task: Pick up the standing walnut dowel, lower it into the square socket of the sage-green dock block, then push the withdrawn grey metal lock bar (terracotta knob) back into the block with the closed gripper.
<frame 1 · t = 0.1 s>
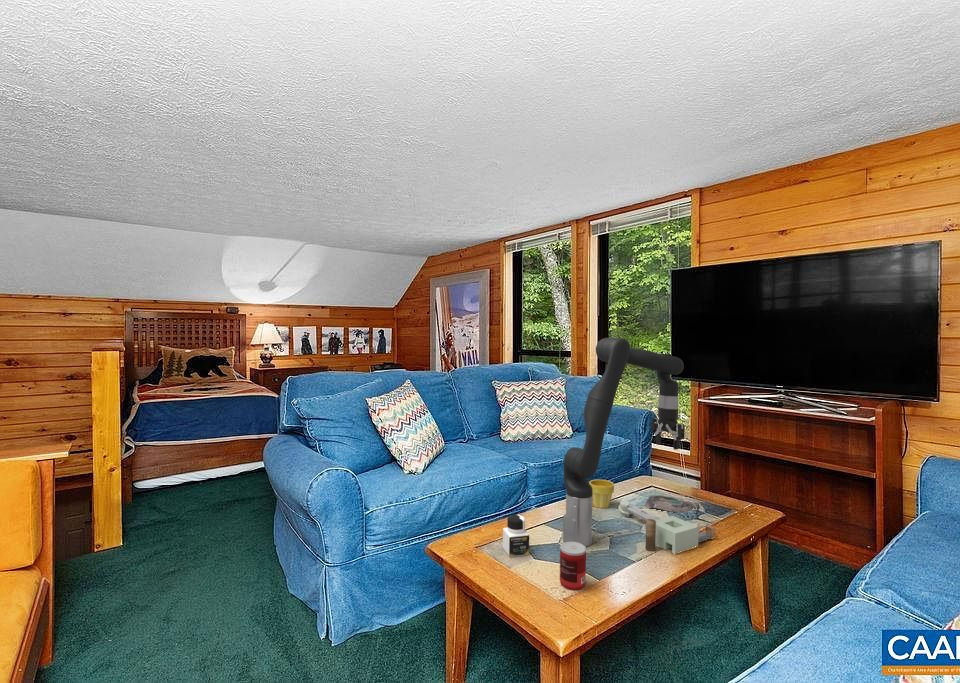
hand: (667, 446, 194), 29 cm above the table, fingers open, 8 cm apart
canned food: (572, 584, 145), on the table
terrain model: (671, 508, 208), on the table
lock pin: (700, 535, 175), point 2 cm above the table, slide at 6.0 cm
dowel: (650, 549, 168), on the table
white handheld tool: (647, 523, 190), on the table, touching dock
dock: (673, 544, 172), on the table
medicine bottle: (515, 552, 165), on the table
plant pot: (601, 505, 209), on the table
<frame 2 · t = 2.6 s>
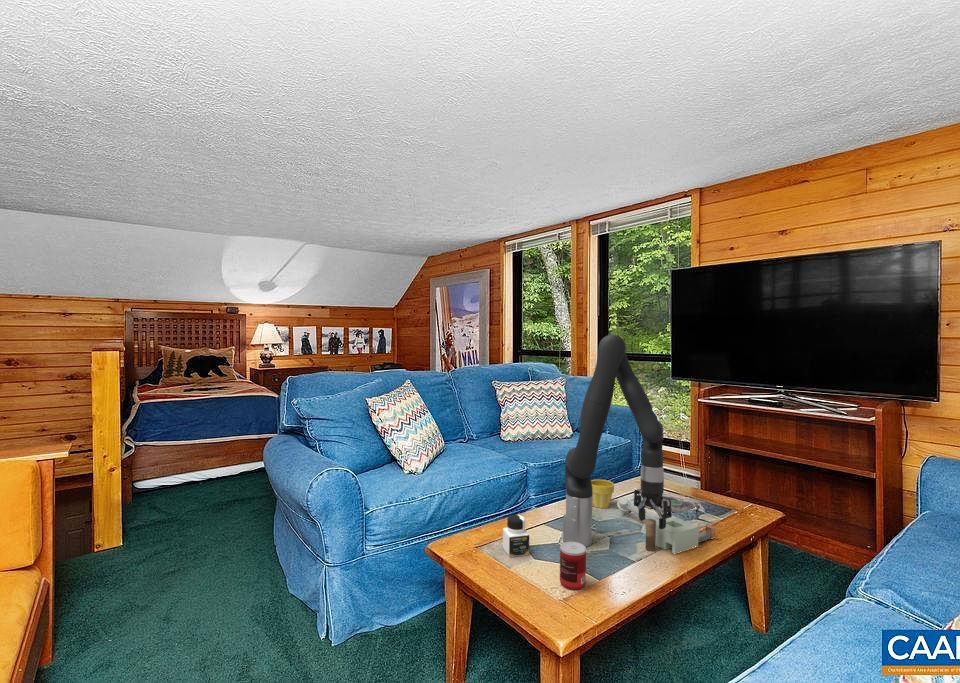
hand: (652, 524, 168), 9 cm above the table, fingers open, 8 cm apart
white handheld tool: (647, 519, 191), point 1 cm above the table, touching dock
everything else where it was.
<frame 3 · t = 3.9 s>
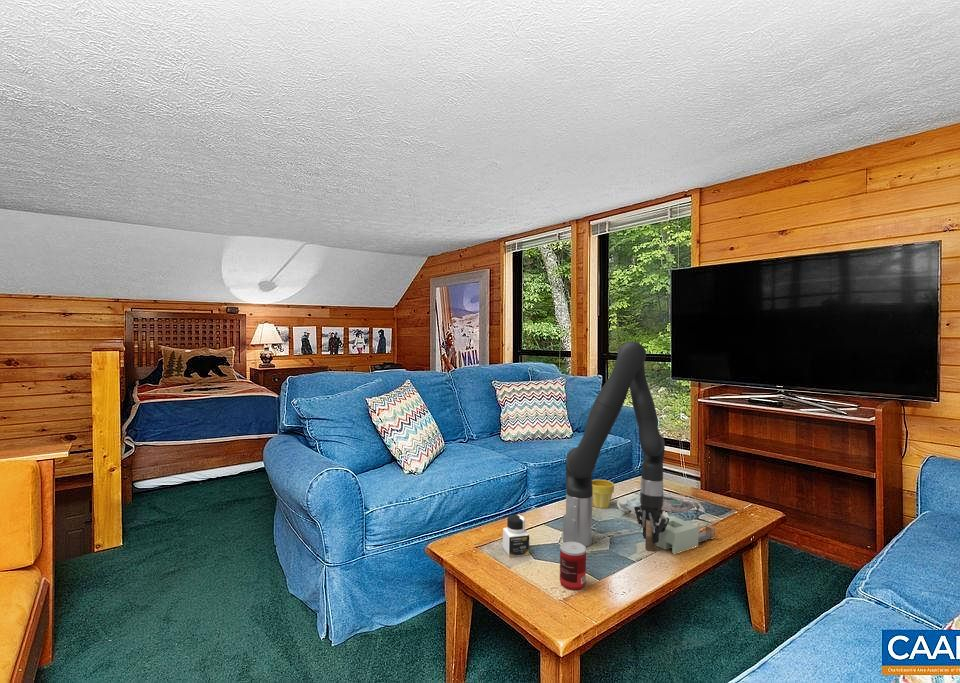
hand: (650, 540, 168), 3 cm above the table, fingers closed on dowel, 3 cm apart
dowel: (650, 549, 168), on the table, touching gripper
everything else where it was.
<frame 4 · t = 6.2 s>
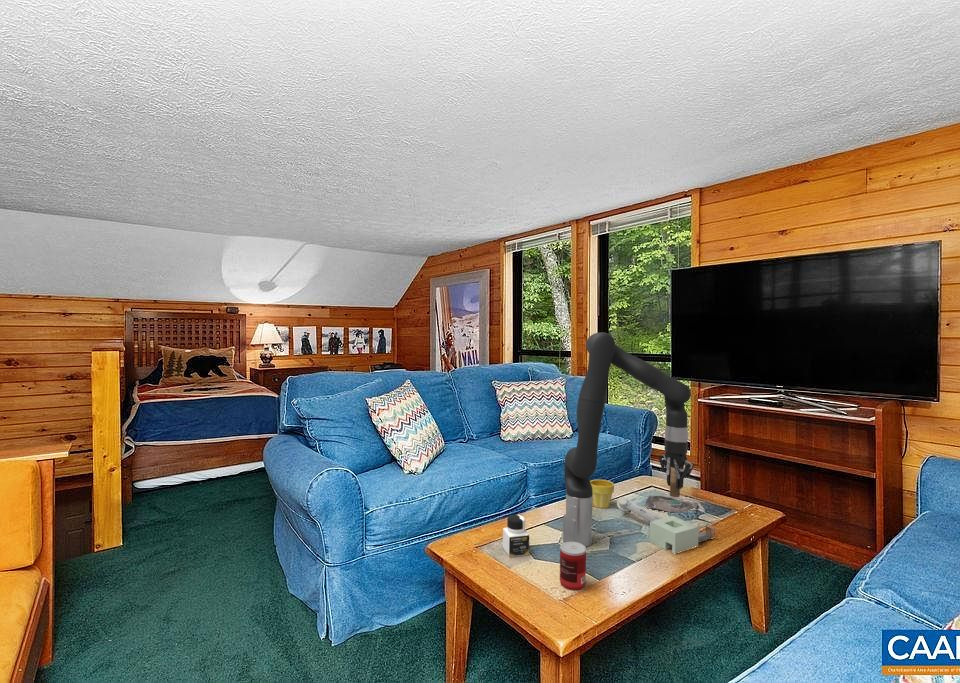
hand: (674, 486, 172), 21 cm above the table, fingers closed on dowel, 3 cm apart
dowel: (674, 495, 172), point 17 cm above the table, touching gripper
everything else where it was.
when the fingers open (8 cm above the table, at t = 8.7 s): dowel drops 2 cm, resting on dock.
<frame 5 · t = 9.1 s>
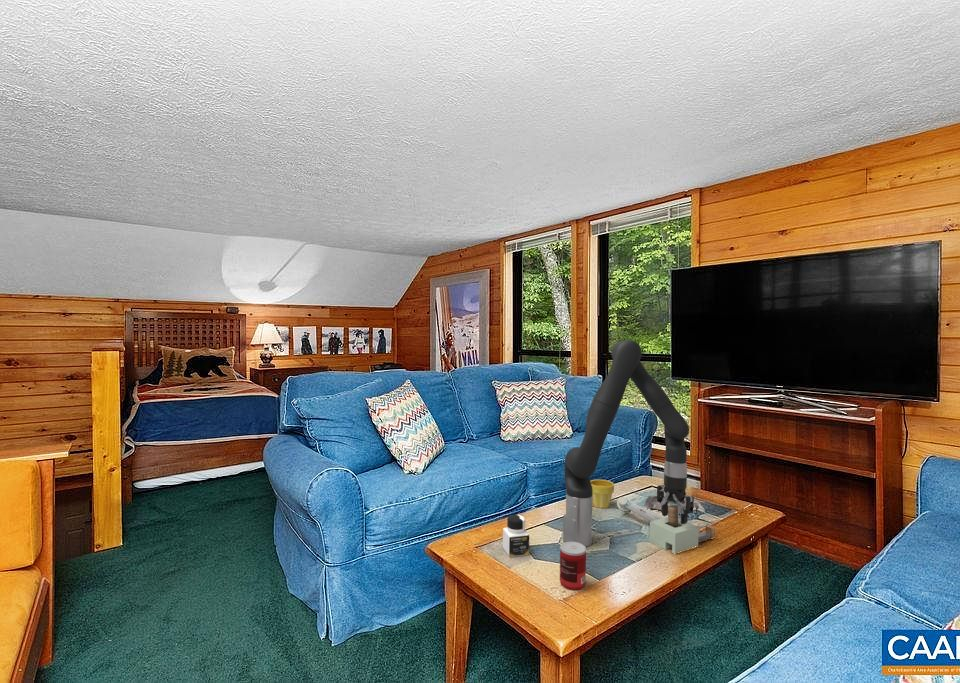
hand: (674, 519, 172), 9 cm above the table, fingers open, 7 cm apart
dowel: (673, 535, 172), point 3 cm above the table, touching dock
everything else where it was.
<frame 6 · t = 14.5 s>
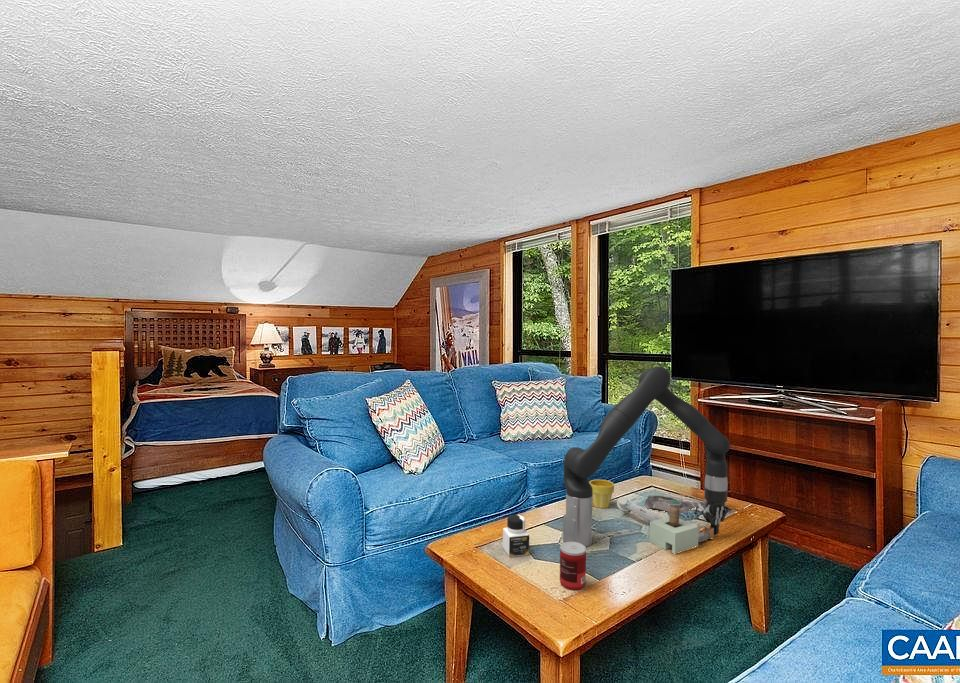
hand: (714, 533, 179), 1 cm above the table, fingers closed
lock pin: (699, 535, 174), point 2 cm above the table, slide at 5.2 cm, touching gripper
everything else where it was.
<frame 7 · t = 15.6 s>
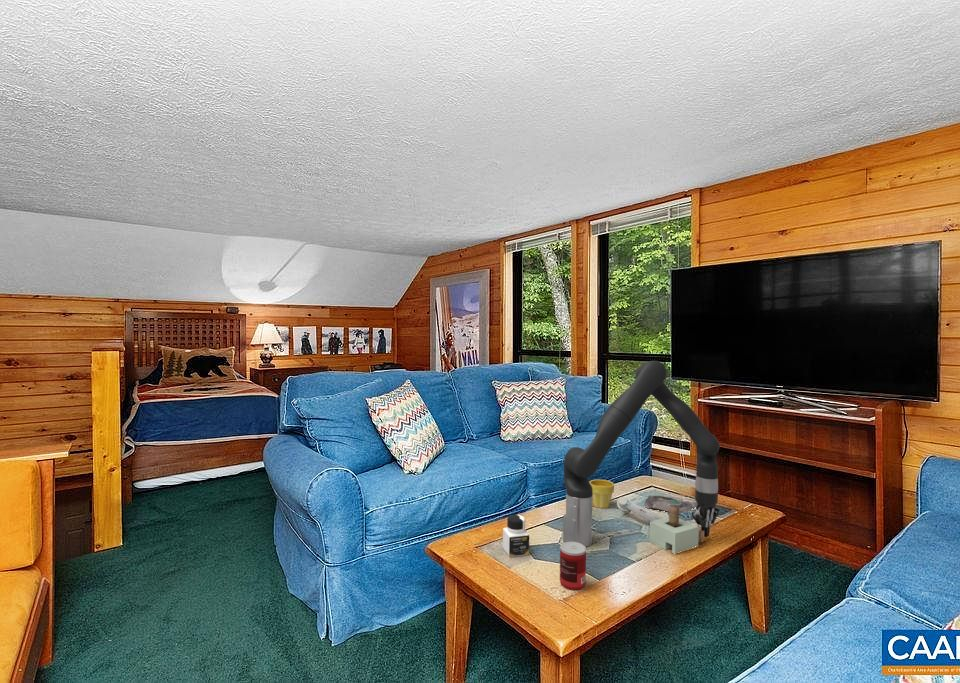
hand: (705, 536, 176), 1 cm above the table, fingers closed
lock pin: (689, 538, 172), point 2 cm above the table, slide at 0.0 cm, touching gripper
everything else where it was.
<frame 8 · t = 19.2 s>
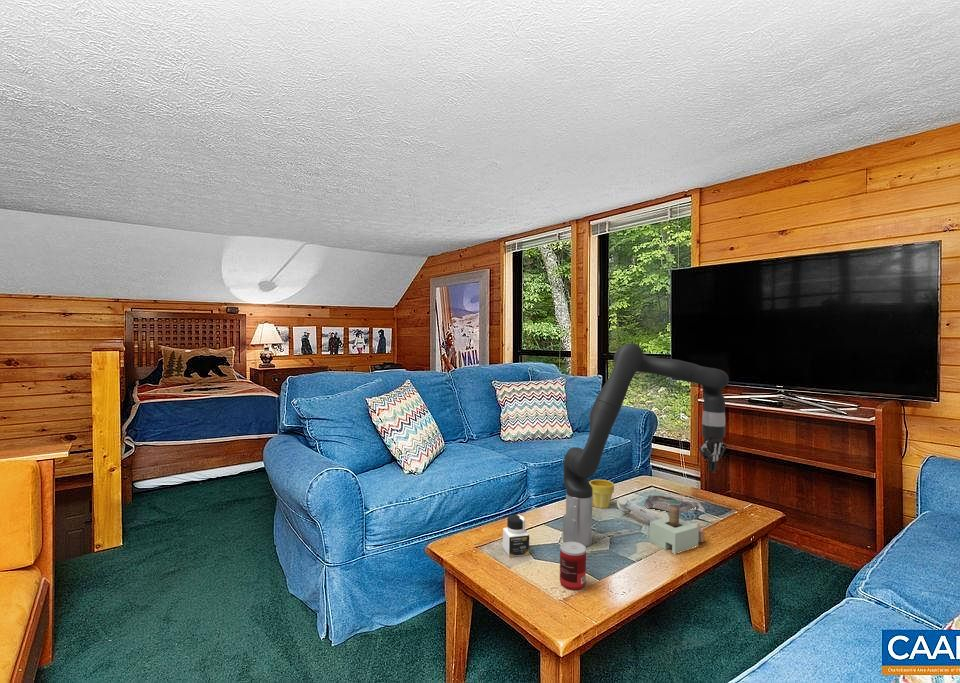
hand: (712, 470, 176), 25 cm above the table, fingers closed
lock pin: (689, 538, 172), point 2 cm above the table, slide at 0.0 cm
everything else where it was.
at the end: dowel 0.0 cm off-centre on the dock, point 3.2 cm above the dock's base; dowel tilted 0°; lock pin slide at 0.0 cm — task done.
